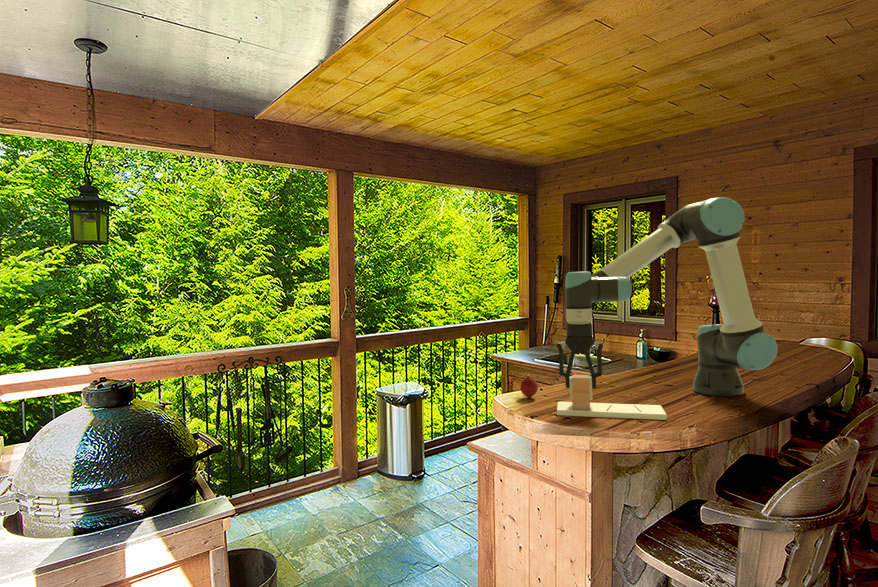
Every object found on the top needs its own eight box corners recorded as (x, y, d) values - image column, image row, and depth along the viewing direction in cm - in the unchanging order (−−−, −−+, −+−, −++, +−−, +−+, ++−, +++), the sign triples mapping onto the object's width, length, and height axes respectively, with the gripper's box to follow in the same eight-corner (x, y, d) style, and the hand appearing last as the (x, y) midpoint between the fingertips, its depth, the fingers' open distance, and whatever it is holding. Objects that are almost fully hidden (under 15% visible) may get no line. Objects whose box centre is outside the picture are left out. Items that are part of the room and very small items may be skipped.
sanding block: (589, 402, 151) (589, 374, 151) (590, 409, 143) (589, 379, 143) (572, 402, 152) (572, 373, 152) (572, 409, 145) (571, 379, 144)
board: (660, 410, 146) (660, 405, 146) (666, 419, 137) (666, 414, 137) (558, 406, 155) (558, 401, 155) (556, 415, 145) (556, 410, 145)
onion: (538, 400, 163) (537, 376, 163) (520, 400, 164) (520, 376, 163) (537, 396, 169) (536, 373, 168) (520, 396, 169) (520, 373, 169)
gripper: (547, 324, 146) (550, 400, 147) (611, 323, 141) (613, 403, 142) (549, 321, 153) (551, 394, 154) (609, 321, 148) (611, 396, 149)
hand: (581, 398), depth 148 cm, fingers closed on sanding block, 5 cm apart
